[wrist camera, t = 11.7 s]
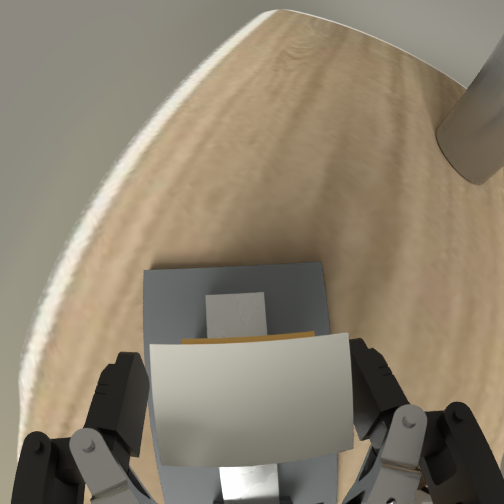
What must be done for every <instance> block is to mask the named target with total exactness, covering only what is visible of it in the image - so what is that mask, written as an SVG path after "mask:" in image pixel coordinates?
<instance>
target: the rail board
mask: <svg viewBox="0 0 504 504" xmlns="http://www.w3.org/2000/svg"><path fill="white" fill-rule="evenodd" d="M257 292H264V300H265V313H266V325H267V335H278V334H290V333H300V332H310V331H314V333H315V336H324V335H330V325H329V316H328V307H327V299H326V291H325V284H324V276H323V269H322V262H305V263H288V264H269V265H250V266H230V267H208V268H186V269H161V270H144V280H143V333H144V358H145V369H146V372H147V374H148V377H149V383H150V389H149V395H148V407H149V416H150V424H151V431H152V438H153V445H154V451H155V457H156V463H157V468H158V473H159V478H160V483H161V488H162V492H163V496H164V501H165V504H213V501H224V497H223V491H222V484H221V476H220V469H219V467H217V468H204V467H177V466H164V465H161V459H160V453H159V446H158V439H157V432H156V423H155V415H154V405H153V394H152V382H151V366H150V344H164V345H182V344H181V339H203V338H208V337H207V318H206V295H220V294H240V293H257ZM277 473H278V488H279V497H283V496H290V497H291V500H292V502H293V504H317V503H322V502H324V504H336V501H337V453H334V454H330V455H325V456H320V457H315V458H310V459H304V460H298V461H292V462H285V463H277Z"/></svg>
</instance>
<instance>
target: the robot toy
mask: <svg viewBox="0 0 504 504" xmlns="http://www.w3.org/2000/svg"><path fill="white" fill-rule="evenodd" d="M412 504H433V502H432V499H431V496H430V493H429V490H428V487H427V485H426V486H424V487H423V488H422V489H421V490H417V492H416V495H415V498H414V501H413V503H412Z"/></svg>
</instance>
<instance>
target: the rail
mask: <svg viewBox="0 0 504 504" xmlns="http://www.w3.org/2000/svg"><path fill="white" fill-rule="evenodd" d="M206 318H207V337H208V338H232V337H250V336H265V335H267V325H266V313H265V300H264V292H257V293H240V294H220V295H206ZM219 469H220V476H221V484H222V491H223V497H224V501H213V504H293V502H292V500H291V497H290V496H283V497H279V488H278V473H277V464H268V465H258V466H245V467H219Z"/></svg>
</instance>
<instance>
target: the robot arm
mask: <svg viewBox="0 0 504 504" xmlns="http://www.w3.org/2000/svg"><path fill="white" fill-rule="evenodd" d="M436 136H437V140H438V143H439V146H440V148H441V150H442V151H443V153H444V155H445V156H446V158H447V159H448V161H449V162H450V163H451V164H452V166H453V167H454V168H455V169H456V170H457V171H458V172H459V173H460V174H461V175H462V176H463V177H464V178H466V179H467V180H469V181H470V182H472V183H474V184H479V185H480V184H483V183H484V182H485V181H487V180H488V179H489V178H490V177H492V176H493V175H494V174H495V173H496V172H497V171H499V170H500V169H501V168H502V167H503V166H504V35H503V36H502V38H501V40H500V41H499V43H498V44H497V46H496V47H495V49H494V51H493V53H492V54H491V55H490V57H489V59H488V60H487V61H486V63H485V65H484V66H483V67H482V69H481V70H480V72H479V73H478V75H477V76H476V77H475V79H474V81H473V82H472V83H471V85H470V86H469V87H468V89H467V90H466V92H465V93H464V94H463V96H462V97H461V98H460V100H459V101H458V102H457V104H456V105H455V106H454V108H453V109H452V110H451V112H450V113H449V114H448V116H447V117H446V118H445V119H444V121H443V122H442V123H441V125H440V126H439V127H438V128H437V131H436ZM349 347H350V360H351V374H352V393H353V423H354V425H355V428H356V431H357V433H358V436H359V439H360V441H363V440H366V439H370V441H371V445H370V448H369V450H368V453H367V455H366V458H365V460H364V463H363V465H362V467H361V470H360V472H359V474H358V476H357V479H356V481H355V483H354V485H353V486H352V488H351V489H350V490H349V492H348V493H347V495H346V497H345V498H344V500H343V502H342V504H412V503H413V501H414V498H415V495H416V492H417V488H418V485H419V482H420V478H421V471H420V470H419V469H418V468H417V466H418V462H419V464H420V467H421V470H422V473H423V475H424V478H425V481H426V484H427V487H428V490H429V493H430V496H431V499H432V502H433V504H504V479H503V476H502V474H501V471H500V469H499V467H498V464H497V462H496V460H495V458H494V455H493V453H492V451H491V449H490V447H489V445H488V443H487V441H486V438H485V436H484V434H483V432H482V430H481V428H480V427H479V425H478V423H477V421H476V419H475V417H474V415H473V413H472V411H471V410H470V408H469V407H468V406H467V405H466V404H464V403H462V402H453V403H451V404H449V405H448V406H447V407H446V409H445V410H444V411H430V412H424V411H423V410H422V409H421V408H420V407H418V406H416V405H411V404H410V403H409V402H408V400H407V398H406V396H405V395H404V393H403V391H402V389H401V387H400V385H399V384H398V382H397V380H396V378H395V377H394V375H392V371H391V370H390V368H389V367H388V364H387V363H386V361H385V359H384V357H383V356H382V355H381V354H380V353H379V352H377V351H376V350H375V349H374V348H371V349H368V348H367V346H366V344H365V342H364V341H363V339H362V338H356V339H350V340H349ZM149 389H150V383H149V377H148V374H147V372H146V369H145V367H144V364H143V362H142V359H141V356H140V354H139V353H138V352H120V353H119V354H118V356H117V359H116V363H115V364H108V365H107V367H106V368H105V369H104V370H103V371H102V372H101V375H100V378H99V381H98V386H97V387H96V390H95V394H94V396H93V399H92V402H91V405H90V409H89V412H88V415H87V419H86V422H85V425H84V427H83V428H82V429H79V430H78V431H76V432H75V433H74V434H73V435H72V437H69V438H57V439H50V438H49V437H48V436H47V435H46V434H44V433H42V432H39V431H35V432H32V433H30V434H28V435H27V437H26V438H25V440H24V442H23V446H22V450H21V454H20V458H19V462H18V466H17V471H16V476H15V481H14V487H13V492H12V499H11V504H83V502H84V491H85V484H86V485H87V486H88V488H89V490H90V492H91V494H92V498H91V499H90V501H91V504H157V503H156V502H155V500H154V499H153V498H152V497H151V495H150V494H149V493H148V491H147V490H146V489H145V487H144V486H143V484H142V483H141V482H140V480H139V479H138V477H137V476H136V474H135V473H134V471H133V470H132V468H131V467H130V465H129V461H130V456H131V457H139V454H140V446H141V439H142V432H143V425H144V419H145V413H146V407H147V401H148V395H149ZM317 504H324V502H322V503H317Z"/></svg>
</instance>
